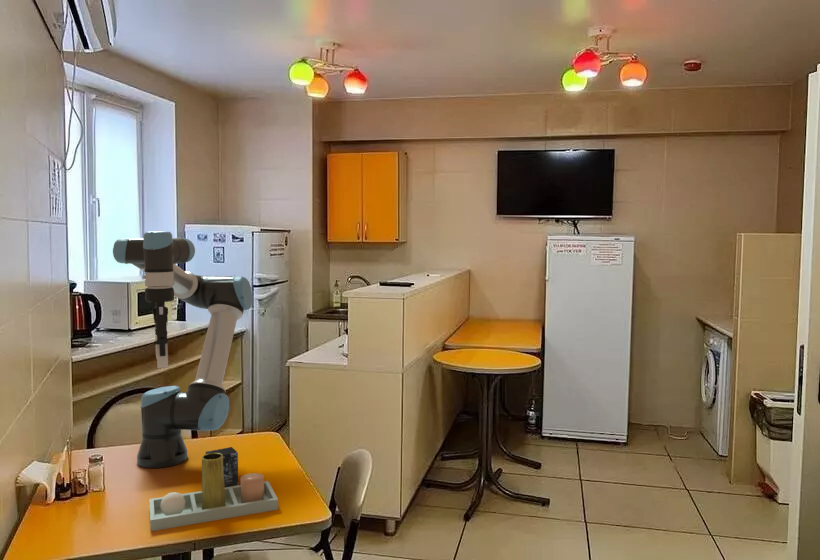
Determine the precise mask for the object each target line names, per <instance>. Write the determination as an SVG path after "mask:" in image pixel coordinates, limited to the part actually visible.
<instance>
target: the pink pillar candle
mask: <svg viewBox="0 0 820 560" xmlns="http://www.w3.org/2000/svg"><path fill="white" fill-rule="evenodd" d="M264 479H265V477H264V475H263V474H262V473H256V472H253V473H247V474H243V475H242V476H240V485H241V503H247V502H253V501H259V500H264V481H265V480H264Z"/></svg>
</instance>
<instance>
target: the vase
mask: <svg viewBox="0 0 820 560" xmlns="http://www.w3.org/2000/svg"><path fill="white" fill-rule="evenodd" d="M201 475H202V476H201V477H202V478H201V479H202V481H201V483H202V484H201V491H202V510H204V509H210V508H217V507H223V506H226V505H225V488H224V473H223V455H222V454H221V453H209V454H206V453H205V454H203V456H202V458H201Z"/></svg>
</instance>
